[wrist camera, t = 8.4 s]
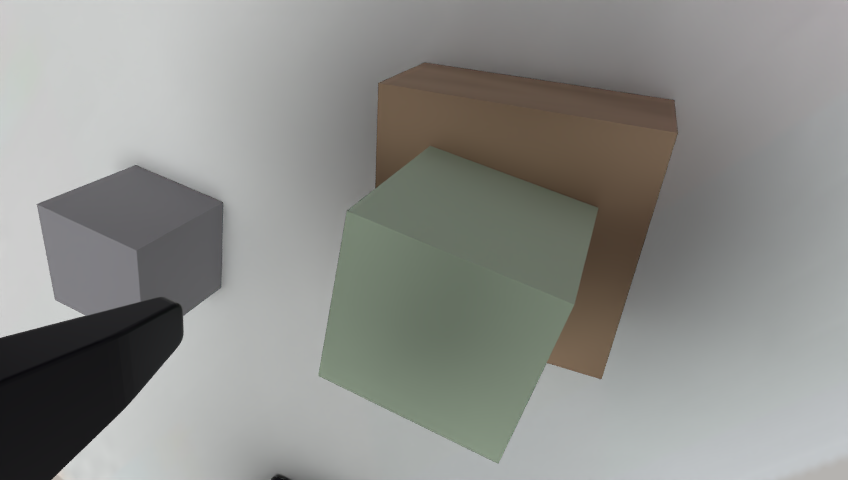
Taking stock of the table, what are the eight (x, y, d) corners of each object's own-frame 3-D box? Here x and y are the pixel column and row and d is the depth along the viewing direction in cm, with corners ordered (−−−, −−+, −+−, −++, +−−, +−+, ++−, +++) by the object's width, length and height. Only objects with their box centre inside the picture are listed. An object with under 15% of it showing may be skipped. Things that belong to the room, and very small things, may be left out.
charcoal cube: (222, 286, 27) (144, 345, 23) (143, 249, 28) (55, 299, 24) (224, 201, 25) (136, 250, 21) (137, 164, 26) (37, 204, 22)
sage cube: (537, 342, 17) (498, 463, 13) (396, 281, 18) (318, 375, 14) (598, 207, 14) (574, 304, 10) (430, 145, 16) (346, 211, 11)
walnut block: (611, 310, 20) (601, 379, 17) (414, 258, 22) (371, 310, 19) (674, 97, 16) (677, 132, 13) (428, 60, 19) (378, 83, 15)
